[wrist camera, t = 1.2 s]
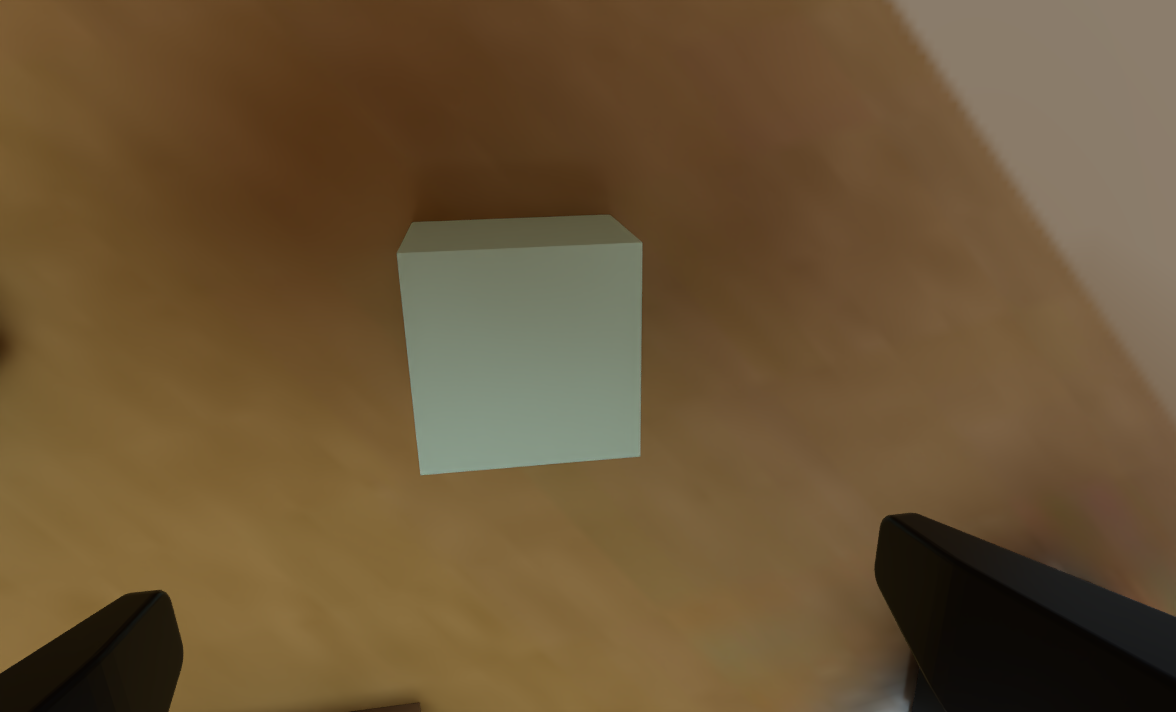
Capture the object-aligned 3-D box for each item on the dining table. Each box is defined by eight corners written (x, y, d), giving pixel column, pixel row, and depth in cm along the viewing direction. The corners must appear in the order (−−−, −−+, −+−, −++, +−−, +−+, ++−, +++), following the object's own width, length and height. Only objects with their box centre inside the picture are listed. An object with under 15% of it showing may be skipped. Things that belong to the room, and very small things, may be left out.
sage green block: (608, 213, 19) (642, 242, 15) (609, 390, 20) (640, 456, 17) (412, 221, 18) (396, 252, 14) (430, 404, 20) (420, 475, 16)
